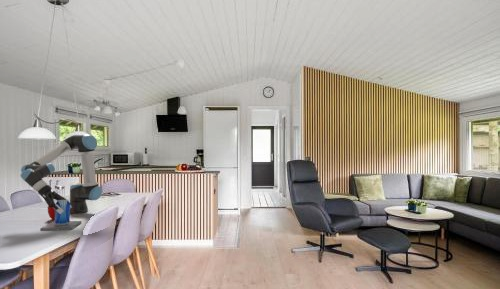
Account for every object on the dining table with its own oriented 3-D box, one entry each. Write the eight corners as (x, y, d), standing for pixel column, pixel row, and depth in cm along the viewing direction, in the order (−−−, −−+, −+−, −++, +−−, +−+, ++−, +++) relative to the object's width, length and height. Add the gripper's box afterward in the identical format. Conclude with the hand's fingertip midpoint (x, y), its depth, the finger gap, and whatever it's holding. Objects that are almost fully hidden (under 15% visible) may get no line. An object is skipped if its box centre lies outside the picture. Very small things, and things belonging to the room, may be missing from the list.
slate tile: (53, 223, 205) (53, 221, 205) (81, 223, 208) (81, 220, 208) (40, 230, 187) (40, 228, 187) (71, 229, 191) (71, 227, 191)
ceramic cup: (62, 222, 209) (63, 208, 210) (42, 220, 213) (43, 206, 213) (76, 218, 222) (77, 205, 222) (57, 216, 226) (58, 203, 226)
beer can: (53, 223, 198) (54, 200, 199) (68, 222, 204) (68, 199, 204) (55, 226, 192) (56, 201, 192) (70, 224, 197) (71, 200, 198)
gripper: (46, 189, 208) (69, 210, 210) (27, 195, 183) (53, 218, 186) (55, 182, 209) (77, 203, 211) (37, 186, 184) (62, 210, 187)
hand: (66, 210), depth 199 cm, fingers open, 13 cm apart
